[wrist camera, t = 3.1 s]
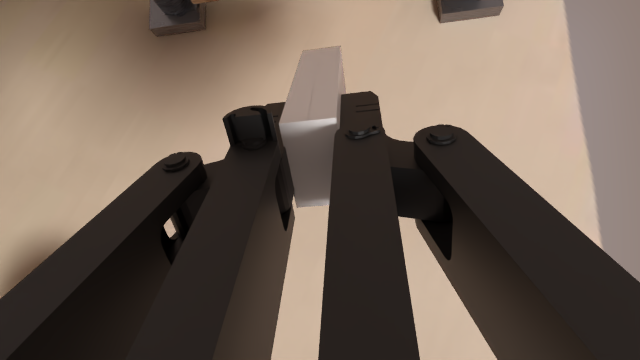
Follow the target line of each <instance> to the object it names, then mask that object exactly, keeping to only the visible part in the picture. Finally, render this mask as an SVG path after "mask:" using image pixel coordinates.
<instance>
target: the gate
mask: <svg viewBox="0 0 640 360" xmlns="http://www.w3.org/2000/svg"><path fill="white" fill-rule="evenodd" d="M191 1H192V3H193V4H198V3H204V2H211V1H217V0H191Z"/></svg>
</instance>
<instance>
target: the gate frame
mask: <svg viewBox="0 0 640 360" xmlns="http://www.w3.org/2000/svg"><path fill="white" fill-rule="evenodd" d="M437 4H438V11H439V18H440V23H445V22H453V21H460V20H468V19H475V18H483V17H490V16H497V15H500V12H501V10H502V8H503V6H504V4H503V0H437ZM149 29H150V30H151V31H152V32H153V33H154V34H155V35H156V36H163V35H170V34H177V33H184V32H191V31H198V30H205V29H206V8H205V2H204V3H198V4H193V3H192V1H191V0H150V20H149Z"/></svg>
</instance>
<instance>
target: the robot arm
mask: <svg viewBox="0 0 640 360" xmlns="http://www.w3.org/2000/svg"><path fill="white" fill-rule="evenodd" d="M223 122H224V125H225V129H226V132H227V136H228V139H229V142H230V148H229V150H228V152H227V154H226V156H225V158H224V159H223V160H220V161H217V162H213V163H209V164H205V165H204V164H203V161H202V158H201V156H200V155H199V154H197V153H193V152H178V153H177V154H176V153H174V154H171V155H169V156H168V157H166V158H164V159H162V160H160V161H159V162H158V163H156V164H155V165H154V166H153V167H151V168H150V169H149V170H148V171H147V172H146V173H145V174H143V175H142V176H141V177H140V178H139V179H138V180H136V181H135V182H134V183H133V184H132V185H131V186H130V187H128V188H127V189H126V190H125V191H124V192H123V193H122V194H120V195H119V196H118V197H117V198H116V199H115V200H114V201H112V202H111V203H110V204H109V205H108V206H107V207H106V208H104V209H103V210H102V211H101V212H100V213H99V214H97V215H96V216H95V217H94V218H93V219H92V220H91V221H89V222H88V223H87V224H86V225H85V226H84V227H83V228H81V229H80V230H79V231H78V232H77V233H76V234H75V235H73V236H72V237H71V238H70V239H69V240H68V241H67V242H65V243H64V244H63V245H62V246H61V247H60V248H58V249H57V250H56V251H55V252H54V253H53V254H52V255H50V256H49V257H48V258H47V259H46V260H45V261H44V262H42V263H41V264H40V265H39V266H38V267H37V268H36V269H34V270H33V271H32V272H31V273H30V274H29V275H27V276H26V277H25V278H24V279H23V280H22V281H21V282H19V283H18V284H17V285H16V286H15V287H14V288H13V289H11V290H10V291H9V292H8V293H7V294H6V295H5V296H3V297H2V298H1V299H0V360H271V354H272V348H273V343H274V337H275V331H276V325H277V319H278V313H279V308H280V302H281V296H282V290H283V284H284V278H285V272H286V267H287V261H288V255H289V249H290V243H291V237H292V232H293V226H294V220H295V216H294V210H293V206H292V200H293V195H294V197H295V202H296V206H297V208H298V207H310V206H323V205H329V217H328V231H327V245H326V259H325V273H324V287H323V301H322V315H321V329H320V343H319V357H318V360H420V357H419V350H418V344H417V337H416V331H415V324H414V318H413V311H412V305H411V298H410V292H409V285H408V279H407V272H406V266H405V259H404V252H403V246H402V239H401V233H400V226H399V220H398V216H400V217H407V218H414V219H415V222H416V226H417V228H418V230H419V232H420V233H421V235H422V237H423V238H424V240H425V242H426V243H427V245H428V247H429V248H430V250H431V251H432V253H433V255H434V256H435V258H436V260H437V261H438V263H439V265H440V266H441V268H442V269H443V271H444V273H445V274H446V276H447V278H448V279H449V281H450V283H451V284H452V286H453V287H454V289H455V291H456V292H457V294H458V296H459V297H460V299H461V301H462V302H463V304H464V306H465V307H466V309H467V310H468V312H469V314H470V315H471V317H472V319H473V320H474V322H475V324H476V325H477V327H478V328H479V330H480V332H481V333H482V335H483V337H484V338H485V340H486V342H487V343H488V345H489V347H490V348H491V350H492V351H493V353H494V355H495V356H496V358H497V360H640V282H639V281H637V280H636V279H635V278H634V277H633V276H632V275H630V274H629V273H628V272H627V271H626V270H625V269H624V268H623V267H621V266H620V265H619V264H618V263H617V262H616V261H614V260H613V259H612V258H611V257H610V256H609V255H608V254H607V253H605V252H604V251H603V250H602V249H601V248H600V247H599V246H597V245H596V244H595V243H594V242H593V241H592V240H591V239H589V238H588V237H587V236H586V235H585V234H584V233H583V232H581V231H580V230H579V229H578V228H577V227H576V226H575V225H573V224H572V223H571V222H570V221H569V220H568V219H567V218H565V217H564V216H563V215H562V214H561V213H560V212H558V211H557V210H556V209H555V208H554V207H553V206H552V205H550V204H549V203H548V202H547V201H546V200H545V199H544V198H542V197H541V196H540V195H539V194H538V193H537V192H536V191H534V190H533V189H532V188H531V187H530V186H529V185H528V184H526V183H525V182H524V181H523V180H522V179H521V178H520V177H518V176H517V175H516V174H515V173H514V172H513V171H512V170H510V169H509V168H508V167H507V166H506V165H505V164H504V163H502V162H501V161H500V160H499V159H498V158H497V157H496V156H494V155H493V154H492V153H491V152H490V151H489V150H488V149H486V148H485V147H484V146H483V145H482V144H481V143H480V142H478V141H477V140H476V139H475V138H474V137H473V136H472V135H470V134H469V133H468V132H467V131H465V130H463V129H462V128H459V127H455V126H451V125H436V126H430V127H427V128H424V129H421V130H420V131H418V132H417V133H416V134H415V136H414V138H413V140H414V142H407V141H399V140H396V139H392V138H390V137H388V136H387V135H386V134H385V130H384V128H383V126H382V120H381V113H380V106H379V100H378V96H377V95H375V94H374V93H373V92H371V91H368V92H359V93H350V94H346V89H345V80H344V71H343V62H342V54H341V46H336V47H328V48H320V49H312V50H305V51H302V54H301V57H300V60H299V63H298V66H297V69H296V72H295V75H294V79H293V82H292V85H291V88H290V91H289V94H288V97H287V100H286V102H281V103H272V104H267V105H266V106H261V105H259V106H248V107H242V108H239V109H237V110H234V111H232V112H230V113H228V114H227V115H226V116H225V117H224V118H223ZM169 218H171V221H172V223H173V225H174V228H175V230H176V232H175V234H174V235H173V236H172V237H170V238H169V237H168V235H167V233H166V231H165V229H164V224H165V223H166V222H167V220H168V219H169Z"/></svg>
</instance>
